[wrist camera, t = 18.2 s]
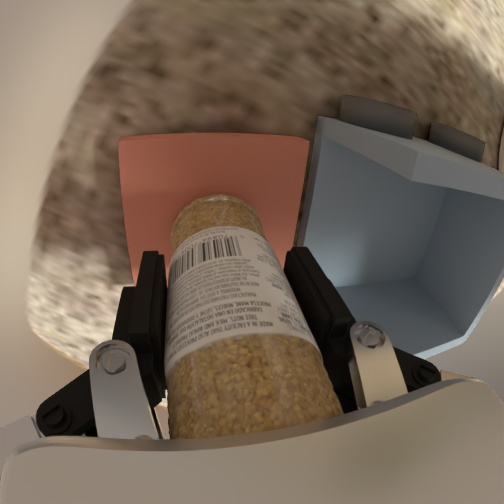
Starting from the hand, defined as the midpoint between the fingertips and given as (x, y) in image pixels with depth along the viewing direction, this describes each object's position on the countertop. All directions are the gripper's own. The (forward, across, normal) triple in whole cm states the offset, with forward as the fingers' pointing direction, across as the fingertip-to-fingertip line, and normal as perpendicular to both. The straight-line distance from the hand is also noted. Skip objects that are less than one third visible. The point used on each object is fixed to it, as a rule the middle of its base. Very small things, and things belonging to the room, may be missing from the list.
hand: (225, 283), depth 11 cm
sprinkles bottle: (+4, 0, 0) cm, 4 cm away
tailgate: (+5, -4, 0) cm, 7 cm away
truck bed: (+6, -11, 0) cm, 13 cm away
